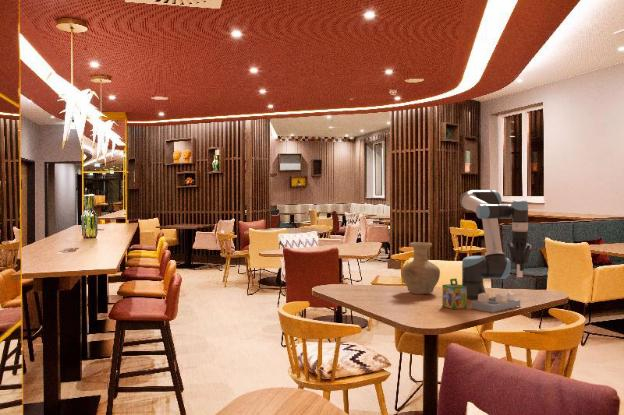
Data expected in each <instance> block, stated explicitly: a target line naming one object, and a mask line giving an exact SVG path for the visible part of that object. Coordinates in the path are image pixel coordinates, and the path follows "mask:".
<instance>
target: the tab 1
mask: <svg viewBox="0 0 624 415" xmlns="http://www.w3.org/2000/svg"><path fill="white" fill-rule="evenodd" d="M489 298H490V294H487V292H486V293H481V294H478V299H477V300H478V302H483V303H488V304H489Z"/></svg>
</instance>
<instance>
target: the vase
mask: <svg viewBox="0 0 624 415" xmlns="http://www.w3.org/2000/svg"><path fill="white" fill-rule="evenodd" d="M409 246H410V247H411V248H413V260H412V261H409V262H408V263H406V264H405V265H403V266H402V268H401V278H402V280H403V282H404V284H405V286H406V288H407V291H408V292H409V293H411V294H414V295H415V294H416V295H427V294H433V292H434V289H435V287H436V286H437V284H438V283H439V280H440V276H441V270H440V268H439V267H438V266H437V265H436V264H435V263H433V262H430V261H429V259H428V257H429V255H428V250H429V249H430V248H432V246H433V244H432V243H431V242H422V241H421V242H420V241H419V242H418V241H417V242H414V241H413V242H410V243H409Z"/></svg>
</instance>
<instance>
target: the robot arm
mask: <svg viewBox="0 0 624 415" xmlns="http://www.w3.org/2000/svg"><path fill="white" fill-rule="evenodd" d="M502 202H503V200H502V197H501V194H500V193H499V192H498V191H497V190H494V189H493V190H492V189H471V190H468V191H465V192H464V193H462V194H461V195H460V199H459V204H460V206H461V207H462V208H464V209H465V210H468V211H470V210H471V211H473V212H474V213H475V214H476V217H477V218H478V219H481V221H482V226H483V228H482V229H483V235H484V243H485V250H486V254H485V255H484V256H483V255H469V256H466V257H464V258H463V259H462V263H461V267H462V268H461V270H462V271H461V285H463V286H467V300H478V294H481V293H486V294H487V292H486V289H485V285H484V280H487V279H488V280H496V279H497V280H500V279H507V278H508V277H509V276H510V273H511V269H512V267H511V266H512V263H514V264H515V270H516V278H523V273H524V271H525V264H528V263H529V262H528V261H529V258H530V255H531V254H530V253H531V250H532V249H533V245H532V244H529V241H528V238H529V232H528V230H529V202H528V200H513V201H512V203H508V204H502ZM498 219H499V220H501V219H502V220H505V219H509V220H511V219H512V220H511V222H512V223H511V230H512V232H511V238H512V240H511V242H509V243H507V246H508V247H507V248H509V253H510V257H511V260H510V259H509V258H508V257H507V256H506V253H504V252H503V248H502V242H501V241H502V240H501V235H500V228H499V227H500V226H499V220H498ZM511 262H512V263H511Z"/></svg>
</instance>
